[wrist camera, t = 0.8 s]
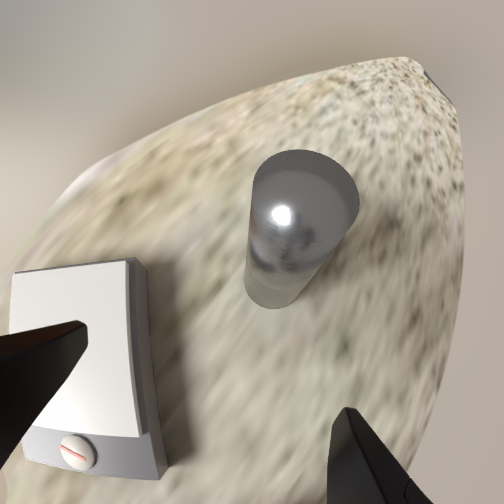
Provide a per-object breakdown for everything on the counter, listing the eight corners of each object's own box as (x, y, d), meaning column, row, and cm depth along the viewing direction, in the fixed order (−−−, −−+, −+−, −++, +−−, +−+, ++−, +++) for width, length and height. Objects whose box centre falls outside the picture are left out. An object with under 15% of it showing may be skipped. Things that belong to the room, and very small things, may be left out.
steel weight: (305, 304, 23) (372, 234, 11) (248, 312, 22) (262, 247, 11) (295, 251, 24) (341, 148, 13) (240, 257, 24) (245, 152, 12)
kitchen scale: (168, 467, 17) (156, 484, 14) (44, 453, 16) (19, 460, 12) (146, 270, 23) (132, 253, 20) (33, 282, 22) (9, 269, 18)
